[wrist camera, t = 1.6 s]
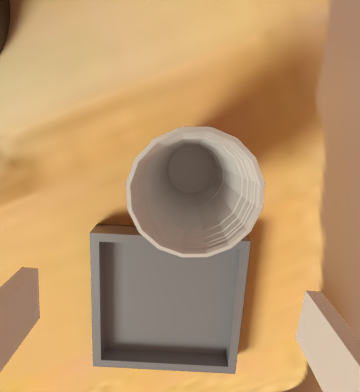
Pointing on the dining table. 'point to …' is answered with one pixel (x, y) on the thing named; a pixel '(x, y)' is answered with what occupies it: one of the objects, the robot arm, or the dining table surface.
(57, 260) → the dining table surface
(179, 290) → the tray
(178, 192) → the plastic cup
